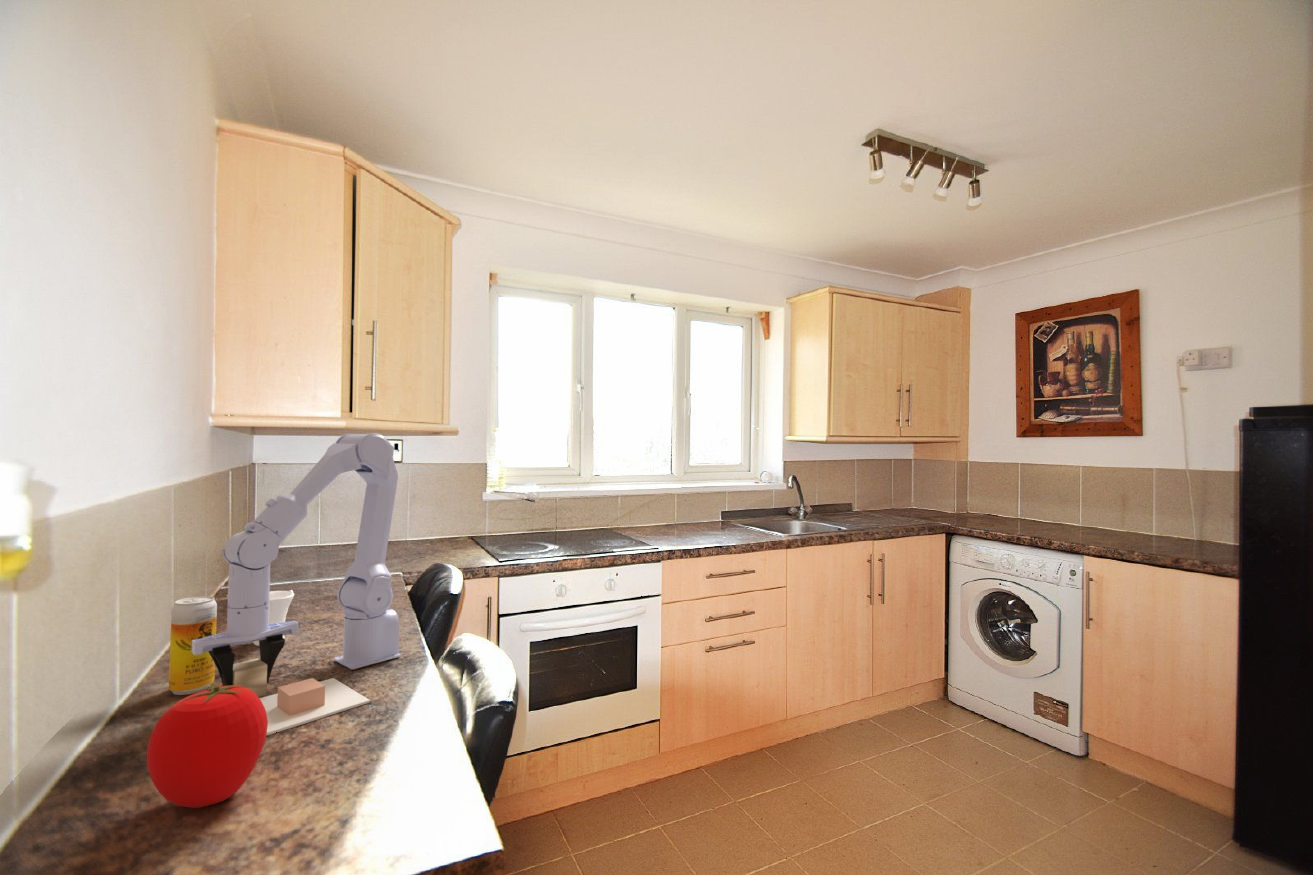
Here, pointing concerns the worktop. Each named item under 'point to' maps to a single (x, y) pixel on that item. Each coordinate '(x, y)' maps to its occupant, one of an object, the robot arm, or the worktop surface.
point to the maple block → (251, 676)
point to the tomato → (207, 745)
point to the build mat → (335, 702)
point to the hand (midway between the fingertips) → (246, 686)
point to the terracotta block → (301, 696)
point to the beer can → (186, 625)
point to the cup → (278, 607)
